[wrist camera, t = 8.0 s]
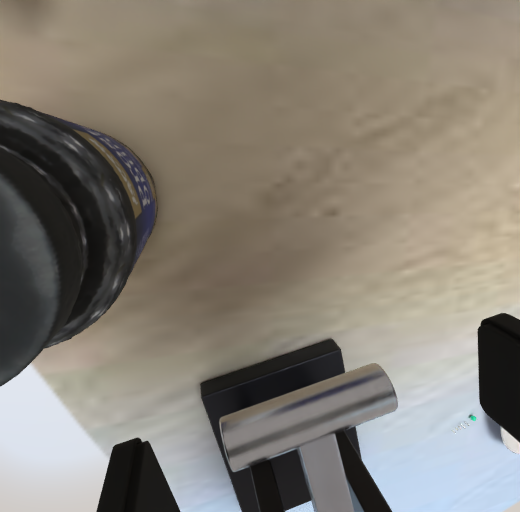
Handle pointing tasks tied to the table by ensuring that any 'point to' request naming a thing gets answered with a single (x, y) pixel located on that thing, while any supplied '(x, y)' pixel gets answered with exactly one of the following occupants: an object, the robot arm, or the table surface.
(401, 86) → the table surface
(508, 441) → the donut
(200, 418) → the table surface
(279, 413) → the flush lever
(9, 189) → the pill bottle
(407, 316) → the table surface
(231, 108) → the table surface
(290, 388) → the lever bracket
